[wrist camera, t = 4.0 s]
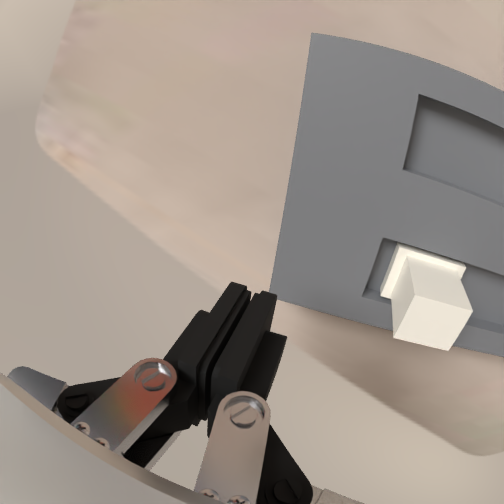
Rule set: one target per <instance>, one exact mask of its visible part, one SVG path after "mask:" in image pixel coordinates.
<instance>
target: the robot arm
mask: <svg viewBox="0 0 504 504" xmlns="http://www.w3.org/2000/svg"><path fill="white" fill-rule="evenodd" d="M250 299H251V291H248V290H247V286H245V285H242V284H238V283H235V282H231V283H230V284H229V285H228V287H227V288H226V290H225V291H224V293H223V294H222V296H221V297H220V298H219V300H218V301H217V303H216V304H215V306H214V307H213V309H212V310H211V312H210V313H209V312H206V311H203V310H200V311H199V312H198V313H197V314H196V315H195V316H194V318H193V319H192V321H191V322H190V323H189V325H188V326H187V327H186V329H185V330H184V331H183V333H182V334H181V336H180V337H179V338H178V340H177V341H176V342H175V344H174V345H173V346H172V348H171V349H170V351H169V352H168V353H167V355H166V356H165V357H164V359H163V360H162V359H158V358H148V359H144V360H141V361H139V362H137V363H136V364H135V365H134V366H132V367H131V368H130V369H129V370H128V371H127V372H126V373H125V374H124V375H123V376H122V377H119V378H114V379H107V380H102V381H96V382H90V383H84V384H78V385H73V386H68V385H67V384H66V382H64V381H61V380H58V379H56V378H53V377H50V376H48V375H45V374H43V373H40V372H38V371H36V370H33V369H31V368H29V367H24V366H21V367H17V368H15V369H13V370H12V371H11V372H10V373H9V375H8V376H7V377H6V376H5V375H3V374H2V373H0V504H364V503H361V502H358V501H356V500H352V499H350V498H347V497H345V496H342V495H339V494H337V493H335V492H332V491H330V490H327V489H324V490H322V489H319V488H317V487H314V486H312V485H311V484H310V482H309V481H308V479H307V478H306V476H305V475H304V473H303V472H302V471H301V469H300V468H299V466H298V465H297V463H296V462H295V461H294V459H293V458H292V456H291V455H290V453H289V452H288V451H287V449H286V447H285V446H284V444H283V443H282V442H281V440H280V438H279V437H278V435H277V434H276V432H275V431H274V430H273V428H272V426H271V425H270V408H269V406H268V404H267V402H266V400H267V397H268V394H269V392H270V389H271V386H272V383H273V380H274V378H275V375H276V372H277V369H278V366H279V363H280V360H281V357H282V353H283V350H284V347H285V343H286V339H287V336H284V335H280V334H277V333H273V332H270V328H271V323H272V319H273V314H274V310H275V305H276V300H277V295H276V294H273V293H269V292H266V291H261V293H260V294H258V293H255V294H254V296H253V297H252V299H251V301H250ZM207 418H208V429H207V436H208V438H209V441H208V444H207V448H206V451H205V454H204V458H203V461H202V465H201V468H200V471H199V475H198V478H197V481H196V485H195V489H194V491H192V490H190V489H187V488H185V487H183V486H180V485H178V484H176V483H173V482H171V481H169V480H167V479H164V478H162V477H160V476H158V475H156V474H154V473H152V472H150V469H151V468H152V467H153V466H154V465H155V464H156V462H157V461H158V460H159V459H160V458H161V457H162V455H163V454H164V453H165V452H166V450H167V449H168V448H169V447H170V446H171V445H172V443H173V442H174V441H175V440H176V439H177V437H178V436H179V435H180V433H181V431H182V430H185V429H189V428H190V426H191V424H193V425H195V426H198V424H199V422H200V420H201V419H202V420H204V421H206V420H207Z"/></svg>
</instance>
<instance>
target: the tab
mask: <svg viewBox="0 0 504 504" xmlns="http://www.w3.org/2000/svg"><path fill="white" fill-rule="evenodd" d="M465 269H466V266H465V264H464V262H462V261H459V260H456V259H453V258H450V257H447V256H443V255H440V254H437V253H434V252H431V251H427V250H424V249H421V248H418V247H414V246H411V245H408V244H404V243H401V242H397V245H396V248H395V251H394V253H393V256H392V259H391V261H390V264H389V267H388V269H387V272H386V275H385V277H384V280H383V282H382V285H381V287H380V295H381V296H382V297H386V298H390V299H391V302H392V319H393V338H396V339H400V340H404V341H408V342H412V343H417V344H421V345H425V346H429V347H433V348H438V349H442V350H447V351H449V349H450V348H451V346H452V345H453V343H454V342H455V340H456V339H457V337H458V335H459V334H460V332H461V331H462V329H463V327H464V326H465V324H466V322H467V321H468V319H469V317H470V316H471V314H472V312H473V310H472V307H471V304H470V302H469V299H468V297H467V294H466V292H465V289H464V287H463V284H462V282H461V278H462V276H463V274H464V271H465Z"/></svg>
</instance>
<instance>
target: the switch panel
mask: <svg viewBox="0 0 504 504" xmlns="http://www.w3.org/2000/svg"><path fill="white" fill-rule="evenodd" d="M397 242H401V243H404V244H408V245H411V246H414V247H418V248H421V249H424V250H427V251H431V252H434V253H437V254H440V255H443V256H447V257H450V258H453V259H456V260H459V261H462V262H464V264H465V266H466V269H465V271H464V274H463V276H462V278H461V282H462V284H463V287H464V289H465V292H466V294H467V297H468V299H469V302H470V304H471V307H472V310H473V312H472V314H471V316H470V317H469V319H468V321H467V322H466V324H465V326H464V327H463V329H462V331H461V332H460V334H459V335H458V337H457V339H456V340H455V342H454V343H453V345H452V346H456V347H461V348H465V349H469V350H474V351H478V352H483V353H488V354H492V355H497V356H502V357H504V92H503V91H501V90H499V89H497V88H495V87H493V86H491V85H489V84H487V83H485V82H483V81H480V80H478V79H476V78H474V77H471V76H469V75H467V74H464V73H462V72H459V71H457V70H454V69H452V68H449V67H446V66H444V65H441V64H438V63H436V62H433V61H430V60H427V59H424V58H421V57H418V56H415V55H411V54H408V53H405V52H401V51H398V50H394V49H390V48H387V47H383V46H379V45H375V44H371V43H366V42H362V41H357V40H352V39H347V38H342V37H336V36H330V35H324V34H318V33H311V40H310V48H309V55H308V62H307V69H306V75H305V82H304V89H303V96H302V102H301V109H300V115H299V122H298V128H297V134H296V141H295V147H294V153H293V159H292V165H291V171H290V177H289V183H288V189H287V195H286V201H285V206H284V212H283V218H282V224H281V229H280V235H279V240H278V246H277V251H276V257H275V262H274V268H273V273H272V278H271V284H270V289H269V293H273V294H276V295H277V299H278V300H281V301H285V302H288V303H292V304H295V305H299V306H302V307H306V308H309V309H313V310H316V311H320V312H323V313H327V314H330V315H334V316H338V317H341V318H345V319H349V320H352V321H356V322H360V323H364V324H367V325H371V326H375V327H379V328H383V329H387V330H390V331H393V319H392V302H391V299H390V298H386V297H382V296H381V295H380V287H381V285H382V282H383V280H384V277H385V275H386V272H387V269H388V267H389V264H390V261H391V259H392V256H393V253H394V251H395V248H396V245H397Z"/></svg>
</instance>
